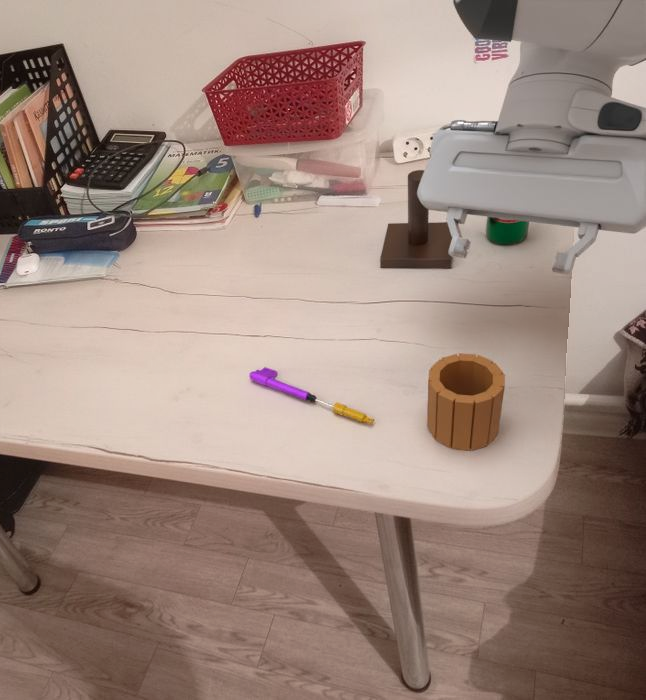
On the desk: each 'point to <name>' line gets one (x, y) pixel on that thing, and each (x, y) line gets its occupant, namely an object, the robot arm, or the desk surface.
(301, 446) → the desk surface
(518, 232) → the soda can
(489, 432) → the wooden hollow cylinder
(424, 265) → the stand
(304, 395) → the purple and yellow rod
